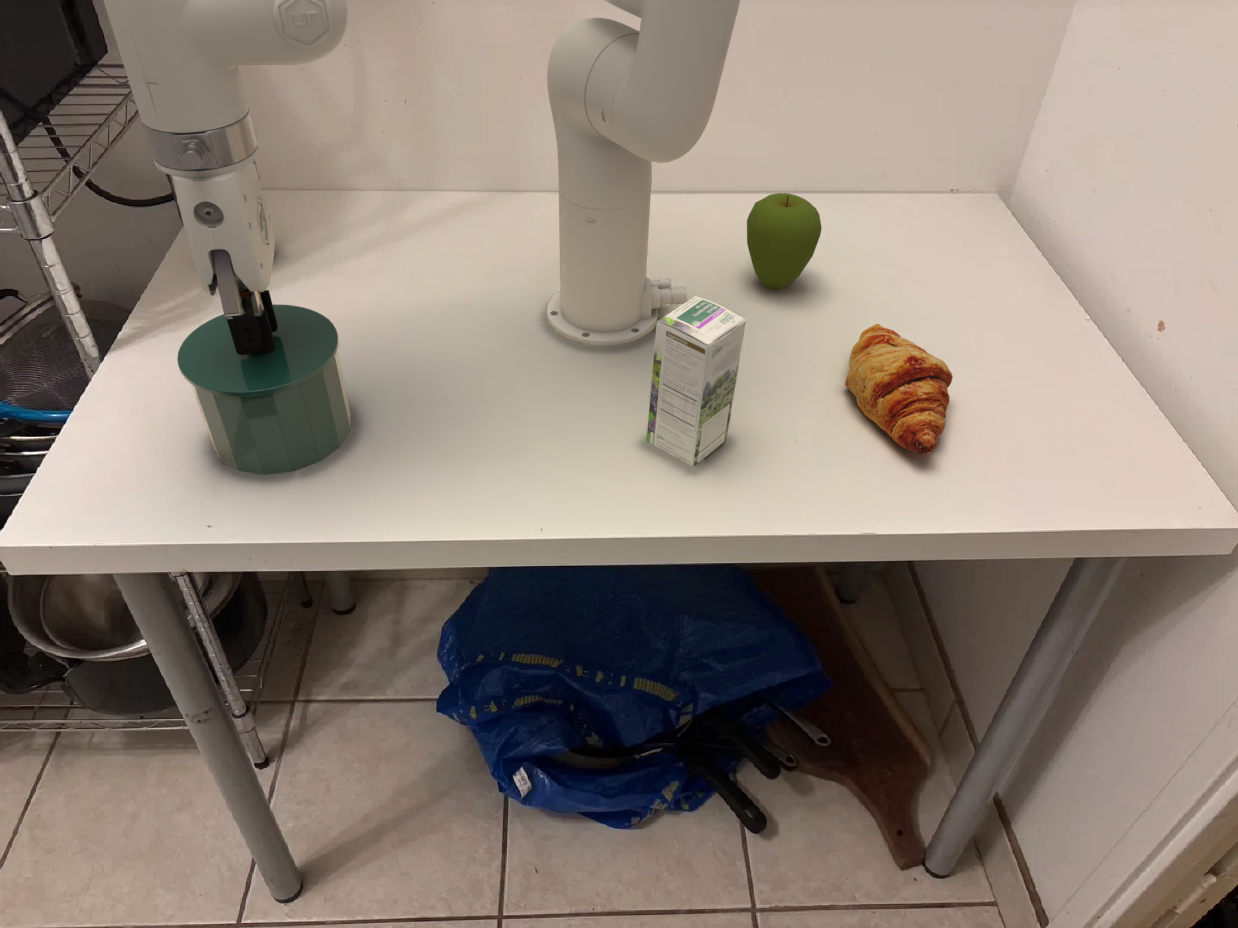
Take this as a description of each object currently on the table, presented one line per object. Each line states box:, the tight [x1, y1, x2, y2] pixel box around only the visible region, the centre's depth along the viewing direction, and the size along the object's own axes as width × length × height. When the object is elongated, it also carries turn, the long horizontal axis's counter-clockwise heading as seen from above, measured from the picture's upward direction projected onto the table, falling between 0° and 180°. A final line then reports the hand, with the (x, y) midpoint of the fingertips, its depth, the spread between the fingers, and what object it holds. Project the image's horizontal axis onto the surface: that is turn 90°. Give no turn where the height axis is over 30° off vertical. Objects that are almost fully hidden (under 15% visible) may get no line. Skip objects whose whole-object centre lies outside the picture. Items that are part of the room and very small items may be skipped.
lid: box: [177, 291, 340, 397], centre depth 81 cm, size 14×14×7 cm
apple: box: [746, 192, 823, 291], centre depth 109 cm, size 9×8×12 cm
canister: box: [190, 351, 352, 476], centre depth 86 cm, size 13×13×10 cm
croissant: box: [844, 323, 953, 455], centre depth 94 cm, size 21×10×8 cm, turn 3°
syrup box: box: [645, 295, 747, 467], centre depth 85 cm, size 6×6×14 cm
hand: (257, 340), depth 82 cm, fingers closed on lid, 2 cm apart
